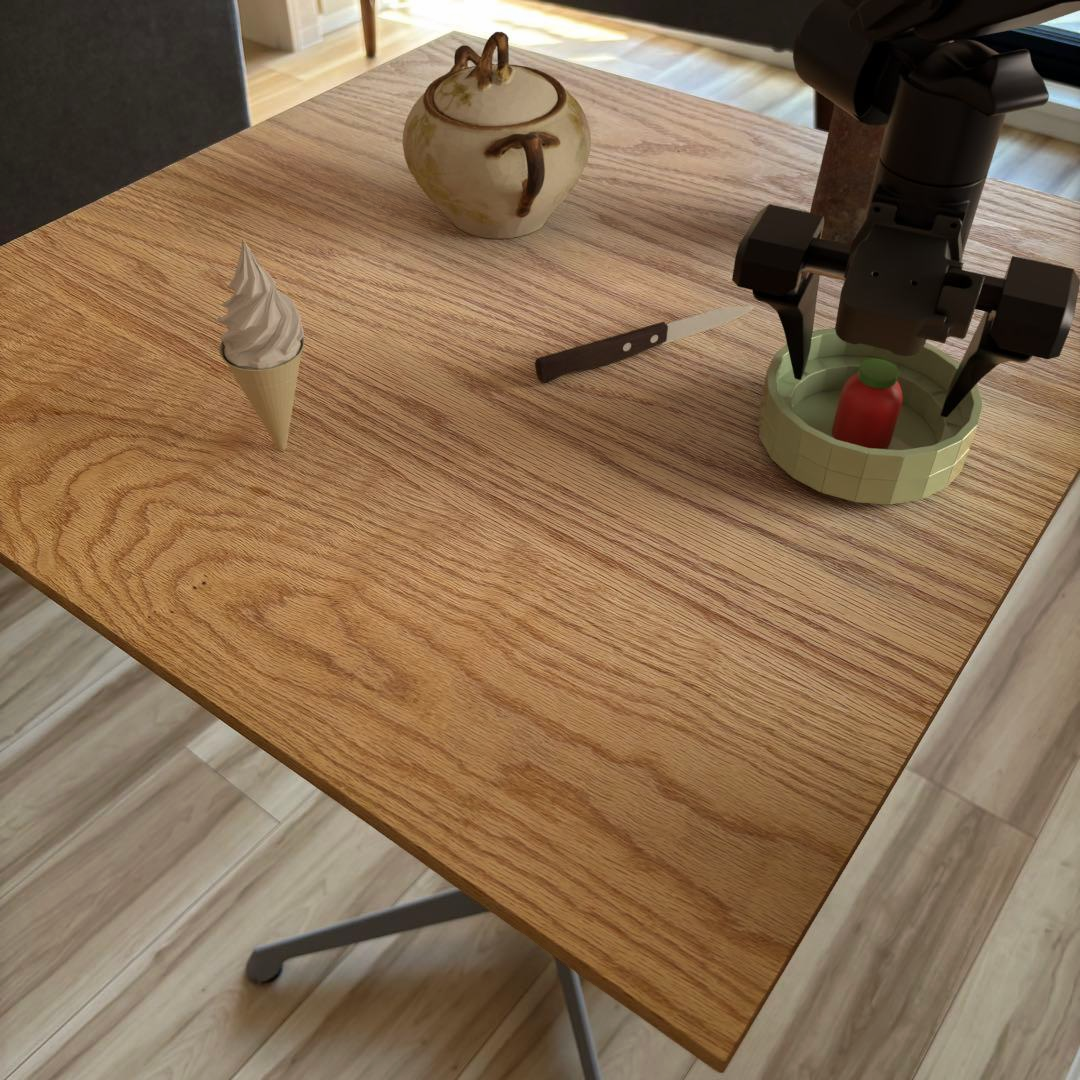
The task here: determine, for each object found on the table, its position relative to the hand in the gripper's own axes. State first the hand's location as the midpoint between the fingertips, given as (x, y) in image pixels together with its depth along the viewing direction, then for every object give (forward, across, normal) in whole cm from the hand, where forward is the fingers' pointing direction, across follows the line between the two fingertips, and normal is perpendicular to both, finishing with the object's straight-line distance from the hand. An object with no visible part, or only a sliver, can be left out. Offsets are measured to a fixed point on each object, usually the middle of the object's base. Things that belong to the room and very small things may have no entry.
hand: (870, 394), depth 72 cm
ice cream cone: (+4, -34, -16) cm, 38 cm away
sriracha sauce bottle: (+3, 0, 0) cm, 3 cm away
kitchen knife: (+4, -16, +4) cm, 17 cm away
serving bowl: (+4, 0, 0) cm, 4 cm away
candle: (+4, -6, +25) cm, 26 cm away
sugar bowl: (+4, -34, +17) cm, 38 cm away
